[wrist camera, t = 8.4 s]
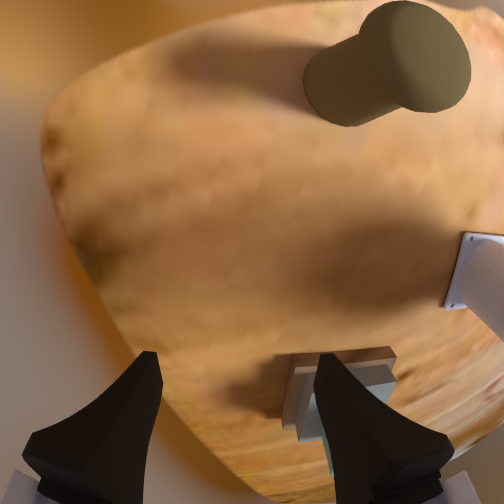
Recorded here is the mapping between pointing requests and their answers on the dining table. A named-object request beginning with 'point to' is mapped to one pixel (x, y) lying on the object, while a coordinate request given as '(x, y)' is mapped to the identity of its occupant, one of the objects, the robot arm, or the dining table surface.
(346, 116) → the olive upright rounded piece
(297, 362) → the walnut block
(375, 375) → the grey block
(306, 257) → the dining table surface
